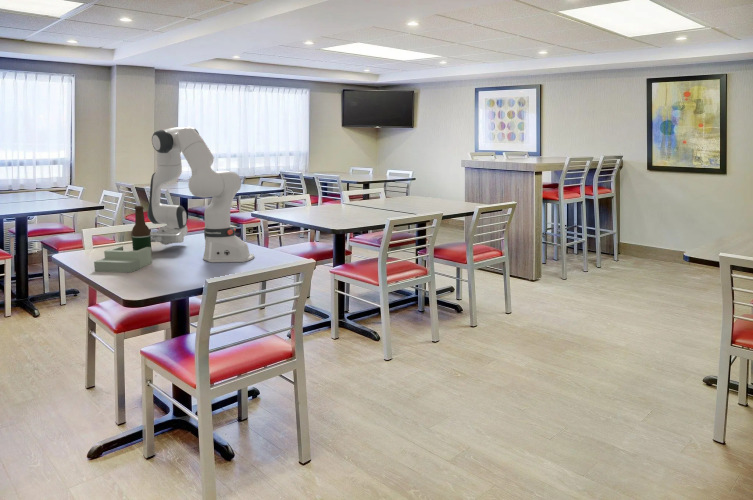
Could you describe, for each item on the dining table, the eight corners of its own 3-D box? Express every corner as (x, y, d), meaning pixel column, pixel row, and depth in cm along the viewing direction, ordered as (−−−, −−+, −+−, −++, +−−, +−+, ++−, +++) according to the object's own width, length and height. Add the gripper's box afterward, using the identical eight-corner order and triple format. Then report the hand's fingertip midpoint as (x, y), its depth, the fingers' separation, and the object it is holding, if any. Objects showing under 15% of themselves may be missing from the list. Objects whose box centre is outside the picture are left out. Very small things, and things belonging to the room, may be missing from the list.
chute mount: (153, 262, 262) (152, 247, 261) (131, 272, 244) (130, 255, 243) (118, 261, 264) (117, 246, 263) (94, 271, 247) (93, 254, 245)
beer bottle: (129, 260, 267) (125, 206, 262) (143, 256, 274) (139, 204, 269) (142, 261, 264) (137, 207, 259) (156, 258, 270) (152, 205, 266)
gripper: (145, 228, 291) (130, 233, 277) (185, 229, 288) (172, 234, 275) (146, 241, 292) (131, 246, 278) (186, 242, 289) (173, 247, 276)
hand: (152, 240), depth 277 cm, fingers closed
